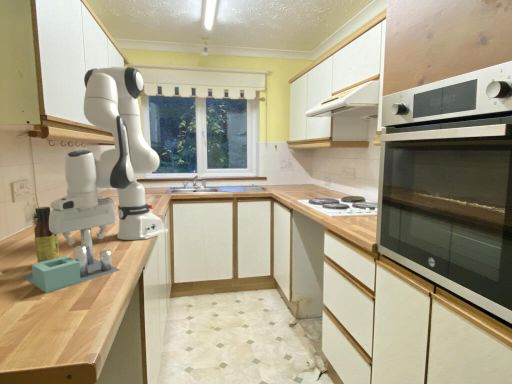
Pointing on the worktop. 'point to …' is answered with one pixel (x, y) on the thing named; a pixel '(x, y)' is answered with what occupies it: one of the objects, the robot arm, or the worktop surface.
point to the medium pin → (81, 259)
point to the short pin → (105, 260)
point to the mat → (93, 273)
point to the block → (56, 273)
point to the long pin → (87, 244)
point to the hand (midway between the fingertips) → (86, 241)
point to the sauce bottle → (45, 237)
